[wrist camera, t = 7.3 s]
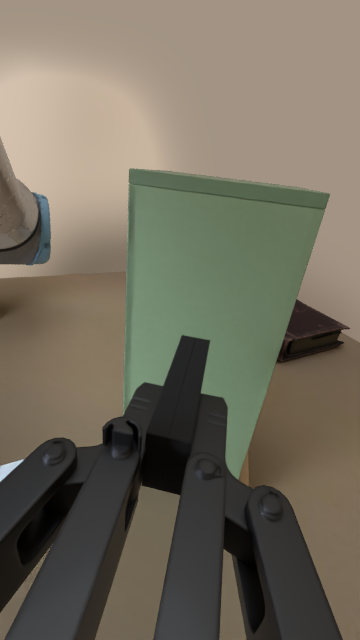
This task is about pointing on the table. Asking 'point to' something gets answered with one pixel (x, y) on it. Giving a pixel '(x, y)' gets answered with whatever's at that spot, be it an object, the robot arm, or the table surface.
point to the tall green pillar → (215, 283)
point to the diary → (309, 333)
